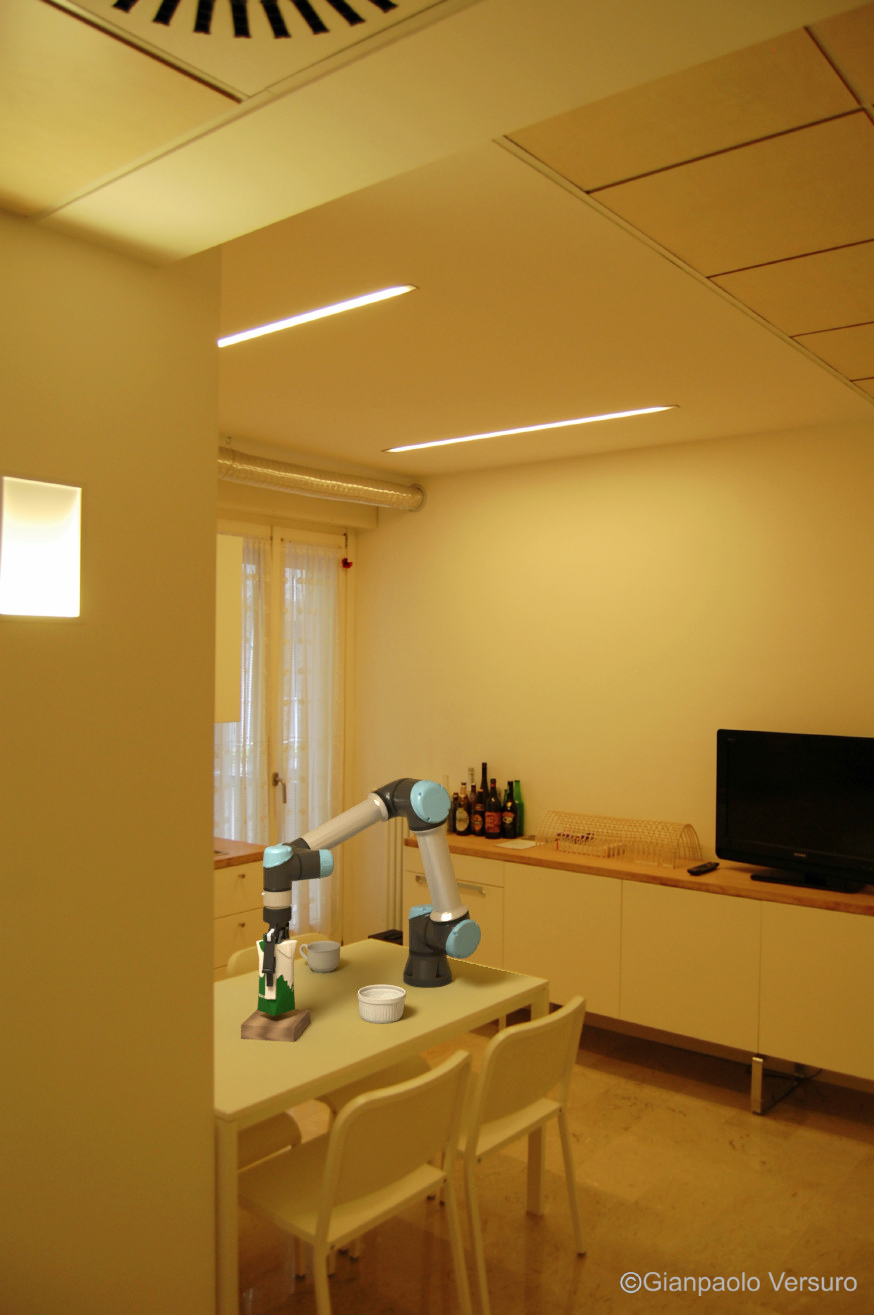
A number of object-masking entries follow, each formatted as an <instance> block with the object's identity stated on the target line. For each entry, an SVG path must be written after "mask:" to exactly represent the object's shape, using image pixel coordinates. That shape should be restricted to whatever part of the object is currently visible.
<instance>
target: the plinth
mask: <svg viewBox="0 0 874 1315" xmlns="http://www.w3.org/2000/svg"><path fill="white" fill-rule="evenodd" d="M310 1011H311V1010H310V1009H303V1008H301V1009H300V1008H295V1010H292V1011H289V1012H285V1013H282V1014H279V1015H276V1016H272V1015H270V1014H267V1013H264V1012H261V1011H259V1010H257V1009H255V1011H254V1012H253V1013H252V1014H251V1015H249V1017H248V1018H246V1019H245V1020H244V1021H243V1022H242V1023H241V1025H240V1039H241V1040H254V1041H255V1040H256V1041H270V1042H282V1043H283V1042H287V1043H288V1042H289V1043H295V1041H296V1040H297V1039H298V1038H299V1036H300V1035H301V1034H303V1032H304V1031H305V1029H306V1028H307V1027H308V1026H309V1025H310V1023H311V1022H310V1017H311V1016H310V1015H311V1014H310V1013H311V1012H310Z"/></svg>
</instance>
